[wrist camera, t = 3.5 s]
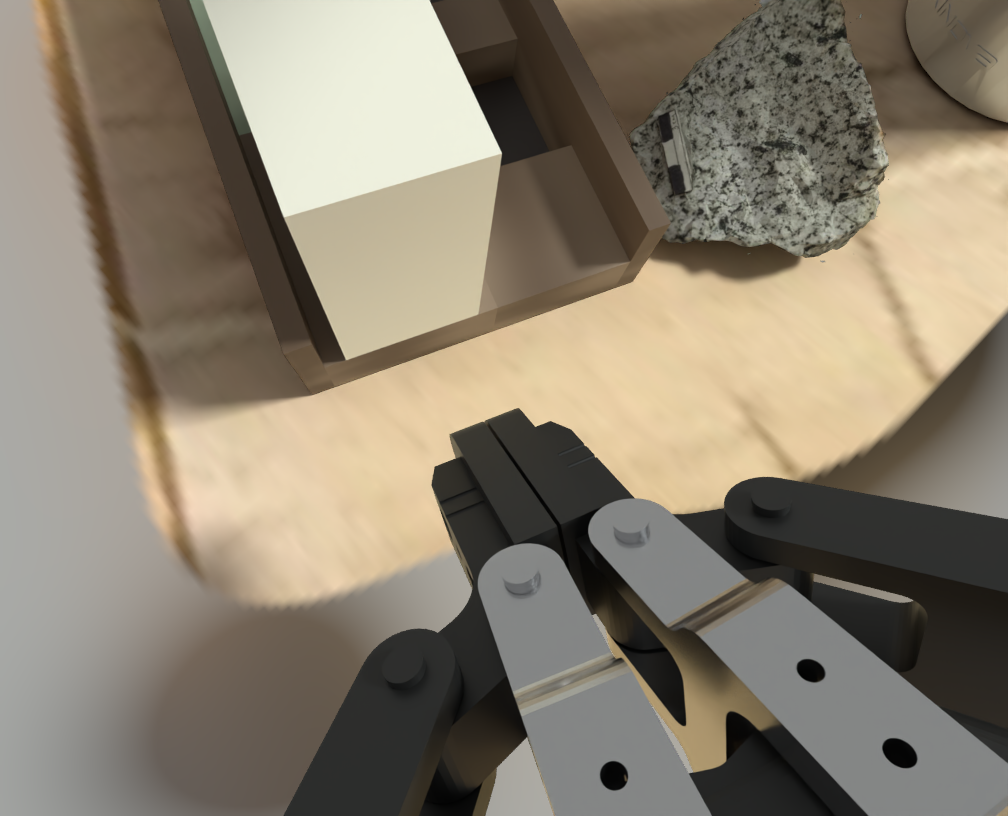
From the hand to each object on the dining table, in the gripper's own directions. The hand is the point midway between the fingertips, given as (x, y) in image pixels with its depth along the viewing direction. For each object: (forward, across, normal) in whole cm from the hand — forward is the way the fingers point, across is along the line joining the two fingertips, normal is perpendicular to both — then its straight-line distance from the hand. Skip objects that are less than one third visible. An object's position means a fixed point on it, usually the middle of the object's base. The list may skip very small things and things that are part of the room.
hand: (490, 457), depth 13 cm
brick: (+12, 0, -3) cm, 12 cm away
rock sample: (+11, -15, 0) cm, 19 cm away
